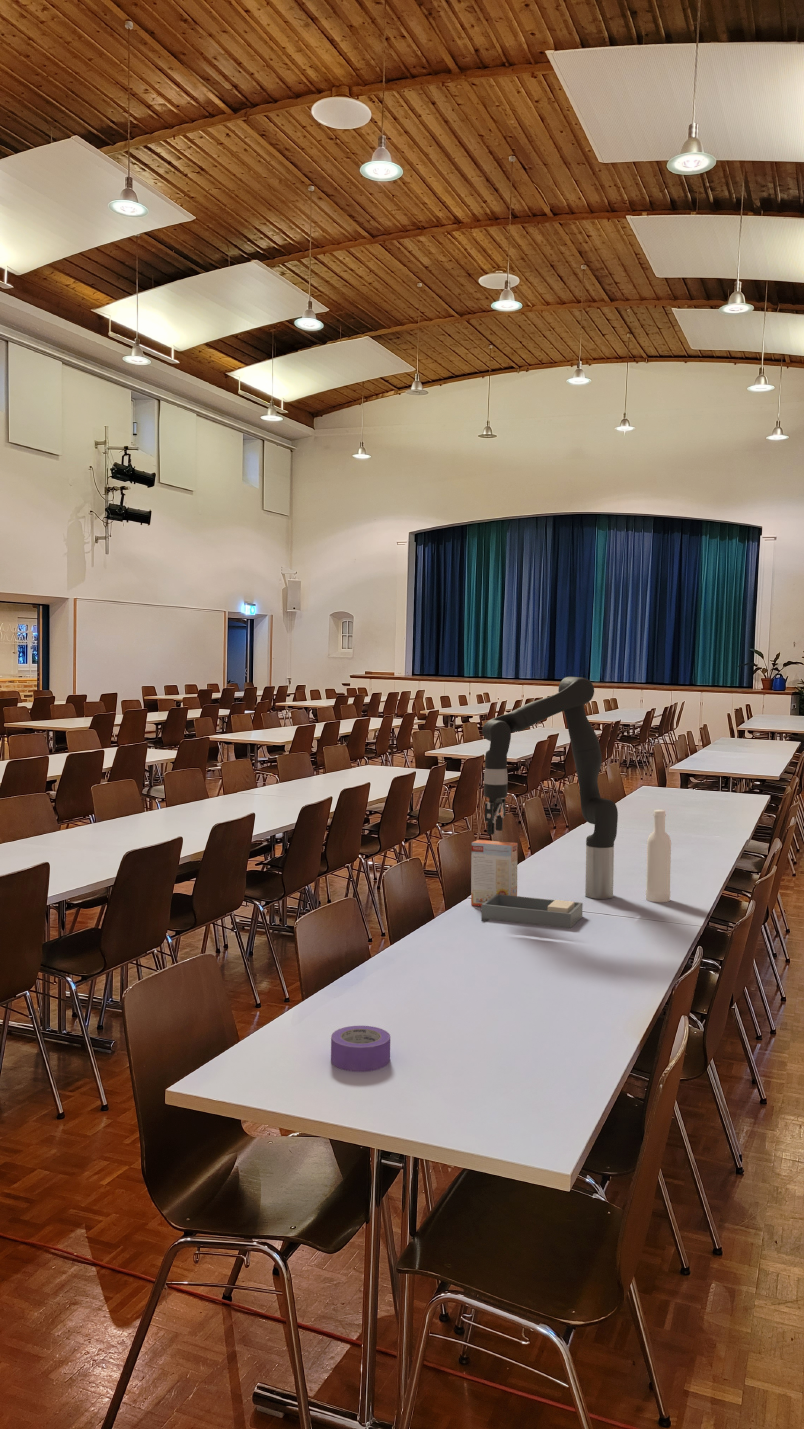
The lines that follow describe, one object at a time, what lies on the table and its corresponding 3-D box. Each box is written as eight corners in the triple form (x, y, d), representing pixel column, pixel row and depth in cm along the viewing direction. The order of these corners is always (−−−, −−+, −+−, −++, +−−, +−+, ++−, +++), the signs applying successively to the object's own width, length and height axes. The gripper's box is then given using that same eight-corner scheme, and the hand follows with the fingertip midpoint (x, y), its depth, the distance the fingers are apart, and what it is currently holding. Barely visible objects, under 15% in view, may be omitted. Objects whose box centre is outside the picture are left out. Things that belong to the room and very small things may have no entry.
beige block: (555, 915, 309) (555, 899, 309) (574, 918, 307) (574, 901, 306) (547, 922, 301) (547, 906, 300) (566, 925, 298) (567, 908, 298)
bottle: (668, 897, 337) (670, 808, 336) (672, 903, 330) (674, 812, 328) (644, 896, 338) (645, 808, 337) (647, 902, 330) (649, 811, 329)
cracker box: (517, 906, 324) (518, 842, 322) (510, 910, 318) (511, 845, 317) (477, 901, 330) (478, 838, 329) (470, 905, 325) (470, 841, 324)
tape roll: (389, 1048, 205) (389, 1024, 205) (391, 1072, 194) (391, 1046, 193) (331, 1049, 205) (331, 1025, 205) (329, 1072, 193) (329, 1047, 193)
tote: (496, 909, 320) (496, 894, 319) (582, 918, 309) (582, 902, 308) (481, 920, 306) (481, 904, 306) (570, 930, 295) (570, 914, 295)
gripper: (500, 785, 314) (499, 836, 315) (513, 780, 327) (512, 830, 328) (477, 784, 317) (476, 834, 318) (491, 779, 330) (490, 828, 331)
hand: (495, 832), depth 323 cm, fingers open, 8 cm apart
